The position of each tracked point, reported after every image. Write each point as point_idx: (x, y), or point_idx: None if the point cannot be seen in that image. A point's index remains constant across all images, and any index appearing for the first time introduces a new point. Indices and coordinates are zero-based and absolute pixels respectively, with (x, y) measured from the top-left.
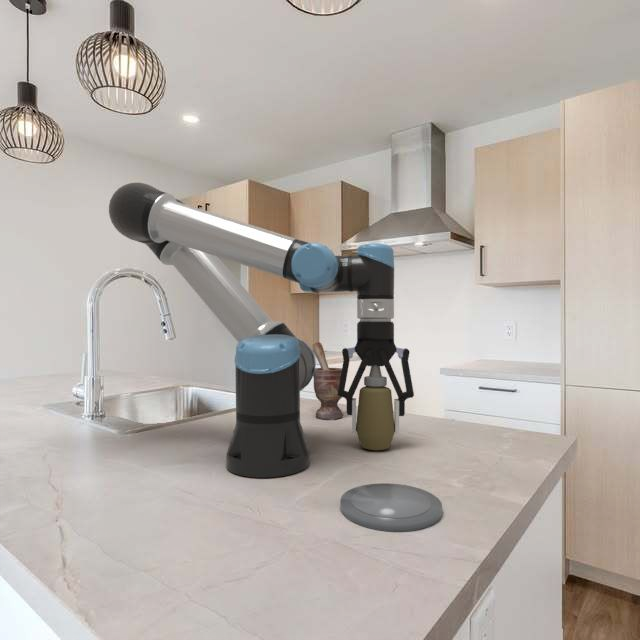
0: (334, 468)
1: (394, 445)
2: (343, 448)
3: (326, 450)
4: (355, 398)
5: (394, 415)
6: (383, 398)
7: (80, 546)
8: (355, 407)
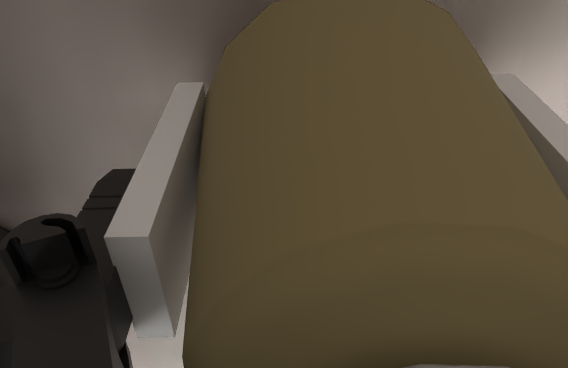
0: (179, 318)
1: (458, 6)
2: (155, 97)
3: (78, 138)
4: (145, 251)
5: (533, 131)
6: None
7: None
8: (183, 285)
